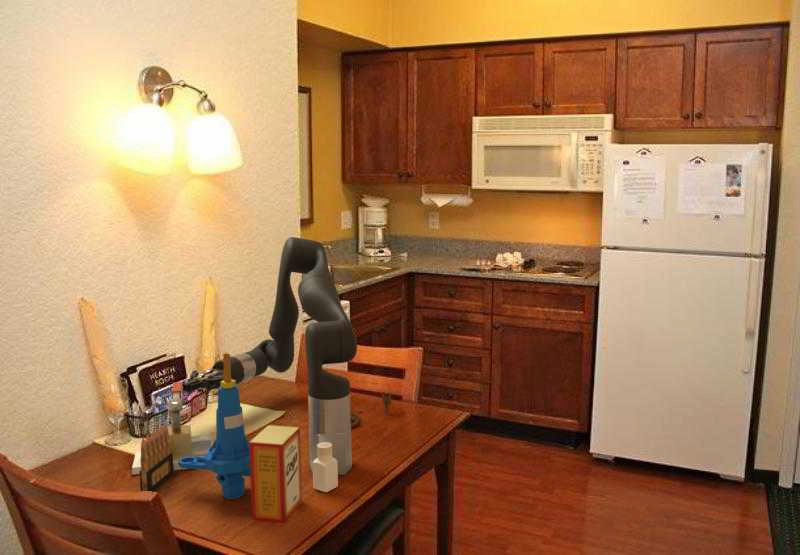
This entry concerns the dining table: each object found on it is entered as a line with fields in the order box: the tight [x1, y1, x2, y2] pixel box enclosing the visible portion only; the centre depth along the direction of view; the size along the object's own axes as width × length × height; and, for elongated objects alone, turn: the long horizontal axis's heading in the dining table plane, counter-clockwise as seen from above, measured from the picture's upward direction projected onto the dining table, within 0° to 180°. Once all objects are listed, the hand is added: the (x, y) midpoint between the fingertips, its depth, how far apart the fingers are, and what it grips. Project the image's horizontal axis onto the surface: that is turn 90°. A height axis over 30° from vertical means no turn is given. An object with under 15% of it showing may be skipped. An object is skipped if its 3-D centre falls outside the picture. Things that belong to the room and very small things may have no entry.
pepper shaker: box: [312, 442, 339, 493], centre depth 154 cm, size 4×4×10 cm
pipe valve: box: [145, 410, 213, 461], centre depth 167 cm, size 15×6×11 cm, turn 104°
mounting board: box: [131, 451, 204, 475], centre depth 168 cm, size 19×9×2 cm, turn 104°
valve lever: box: [166, 381, 184, 412], centre depth 173 cm, size 3×17×2 cm, turn 14°
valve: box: [178, 352, 251, 500], centre depth 150 cm, size 11×17×30 cm, turn 76°
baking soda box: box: [248, 424, 303, 524], centre depth 144 cm, size 10×6×16 cm
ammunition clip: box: [139, 422, 175, 492], centre depth 156 cm, size 11×2×12 cm, turn 168°
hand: (185, 388), depth 179 cm, fingers closed
